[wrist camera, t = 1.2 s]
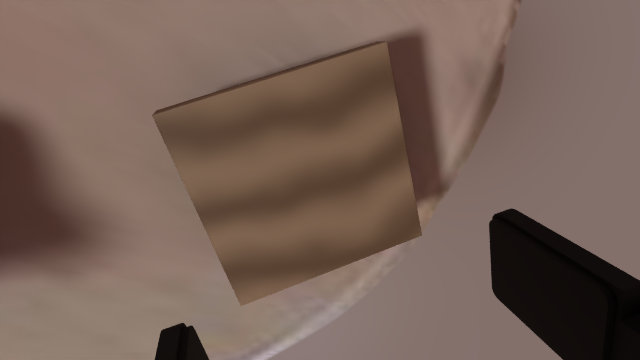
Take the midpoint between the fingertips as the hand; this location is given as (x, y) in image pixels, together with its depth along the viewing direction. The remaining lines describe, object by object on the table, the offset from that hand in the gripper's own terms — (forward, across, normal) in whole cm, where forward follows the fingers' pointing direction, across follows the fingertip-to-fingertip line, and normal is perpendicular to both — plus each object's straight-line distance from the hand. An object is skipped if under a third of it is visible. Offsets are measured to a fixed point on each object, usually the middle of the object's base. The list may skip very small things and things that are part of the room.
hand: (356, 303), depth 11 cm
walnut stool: (+26, -2, +4) cm, 27 cm away
